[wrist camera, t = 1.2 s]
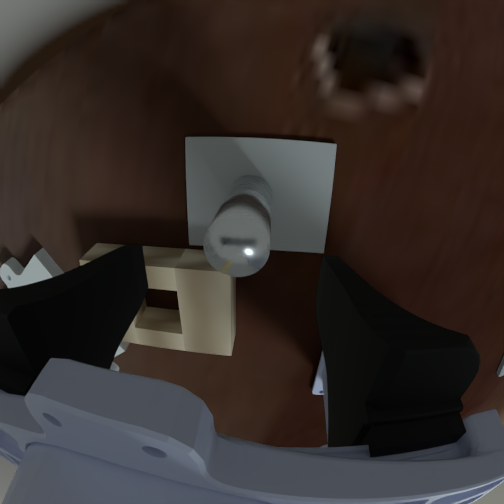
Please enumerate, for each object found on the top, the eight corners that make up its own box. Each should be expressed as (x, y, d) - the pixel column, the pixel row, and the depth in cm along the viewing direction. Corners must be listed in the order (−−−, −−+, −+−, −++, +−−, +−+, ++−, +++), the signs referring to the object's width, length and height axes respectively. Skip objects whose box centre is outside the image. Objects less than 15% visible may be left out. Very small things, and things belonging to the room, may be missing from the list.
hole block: (235, 251, 23) (230, 272, 21) (235, 331, 27) (231, 355, 24) (96, 243, 24) (79, 259, 21) (114, 317, 28) (101, 337, 25)
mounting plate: (-3, 284, 29) (-12, 292, 27) (30, 226, 25) (18, 234, 23) (92, 382, 35) (86, 392, 33) (148, 354, 30) (143, 366, 29)
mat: (335, 143, 19) (336, 144, 19) (323, 251, 23) (323, 253, 23) (186, 136, 20) (185, 137, 19) (190, 243, 23) (189, 244, 23)
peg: (273, 175, 20) (271, 218, 13) (271, 217, 22) (268, 278, 15) (229, 173, 20) (202, 215, 13) (228, 215, 22) (204, 274, 15)
